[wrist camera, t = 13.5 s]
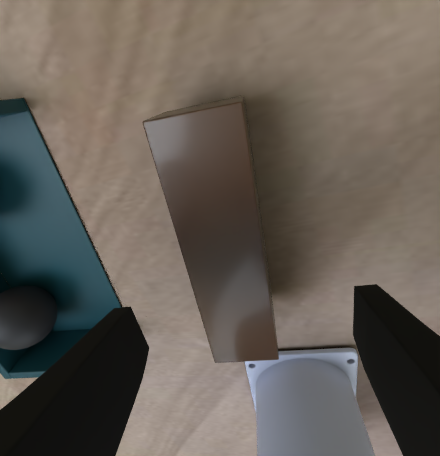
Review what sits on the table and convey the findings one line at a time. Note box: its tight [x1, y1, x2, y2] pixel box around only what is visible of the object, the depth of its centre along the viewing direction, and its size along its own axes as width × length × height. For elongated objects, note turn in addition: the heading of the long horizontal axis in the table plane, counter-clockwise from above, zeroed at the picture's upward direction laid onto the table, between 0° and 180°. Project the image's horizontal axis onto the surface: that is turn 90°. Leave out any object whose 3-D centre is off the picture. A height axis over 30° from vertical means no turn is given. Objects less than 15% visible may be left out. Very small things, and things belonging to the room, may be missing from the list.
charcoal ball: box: [0, 285, 58, 350], centre depth 18 cm, size 4×4×4 cm
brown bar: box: [143, 96, 279, 363], centre depth 14 cm, size 12×3×5 cm, turn 11°
